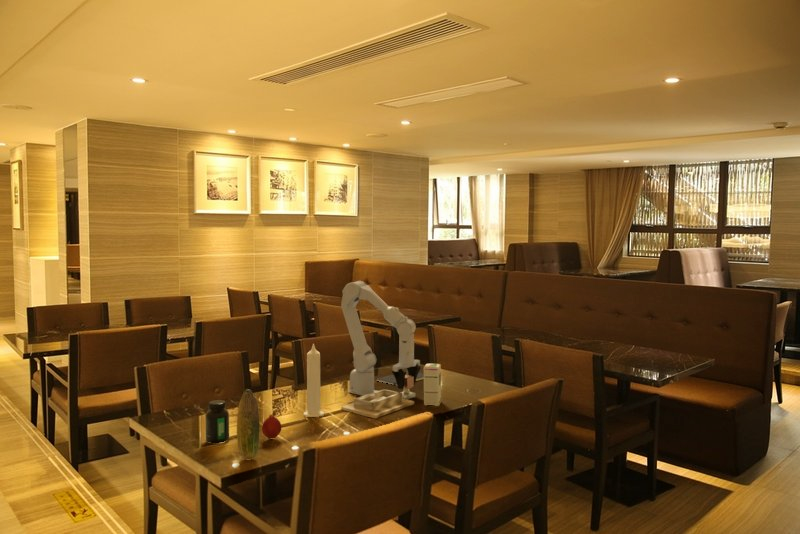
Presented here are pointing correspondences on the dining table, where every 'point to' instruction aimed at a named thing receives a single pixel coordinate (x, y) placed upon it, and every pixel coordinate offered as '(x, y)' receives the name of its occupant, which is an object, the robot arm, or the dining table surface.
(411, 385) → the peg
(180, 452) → the dining table surface
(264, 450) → the dining table surface
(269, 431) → the onion
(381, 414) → the holder
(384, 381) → the notebook
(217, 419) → the supplement bottle
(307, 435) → the dining table surface
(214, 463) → the dining table surface
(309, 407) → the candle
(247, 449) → the vegetable
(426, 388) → the syrup box
